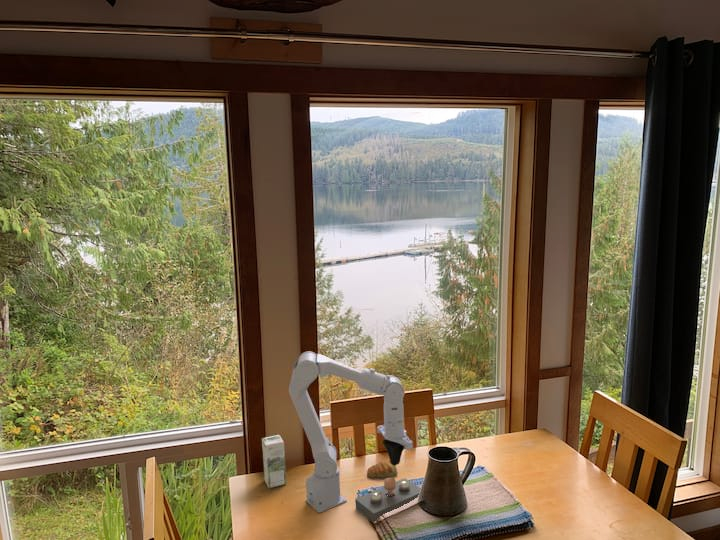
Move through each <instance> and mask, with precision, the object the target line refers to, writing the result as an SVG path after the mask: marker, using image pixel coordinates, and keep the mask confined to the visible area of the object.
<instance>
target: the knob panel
mask: <svg viewBox="0 0 720 540" xmlns="http://www.w3.org/2000/svg"><path fill="white" fill-rule="evenodd" d="M403 479H406V477H405V478H403ZM398 481H399V480H397V481H395V483H396V488H395V489H394V490H393V497H388V496H387V495H388V490H386V489H385V488H384V486H382V487H381V488H378V489H376V490H375V491H380V492H381V493H382V501H381V502H380V503H377V504H374V503H372V502H371V501H370V493H371V492H369V493H366V494H364V495H361V496H359V497H356V498H355V499H354V501H355V509H356V510H357V511H358V512H359V513H360V514H362V516H364V517H365V518H366V519H367V520H369V521H370V522H371V523H373V522H375V521H376V520H377V519H378V518H379V517H380V516H382V515H383V514H385V513H387V512H390V511H392V510H394V509H397V508H399V507H401V506H403V505H404V504H407V503H409V502H410V501H412V500H414V499H415V498H417V497H418V495H419V492H420V489H422V488H421V487H420V486H418V485H417V484H416V483H413V482H412V481H410V480H409V487H410V489H409V490H408V491H404V492H403V491H400V490H399V488H398Z"/></svg>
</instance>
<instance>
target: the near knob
mask: <svg viewBox="0 0 720 540" xmlns="http://www.w3.org/2000/svg"><path fill="white" fill-rule="evenodd" d="M369 493H370V501H371V502H372V503H374V504H377V503H380V502H381V501H382V493H381V492H380V491H376V490H372V491H370V492H369Z"/></svg>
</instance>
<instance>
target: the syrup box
mask: <svg viewBox="0 0 720 540" xmlns="http://www.w3.org/2000/svg"><path fill="white" fill-rule="evenodd" d="M261 447H262V450H261V451H262V461H263V462H262V464H263V477H264V478H263V479H264V481H265V484H266V485H267V488H268V489H269V490H270V489H273V488H277V487H281V486H284V485H287V473H286V459H285V458H286V457H285V442H284V439H282V437H281V435H280V434H277V435H271V436H266V437H262V438H261Z"/></svg>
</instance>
